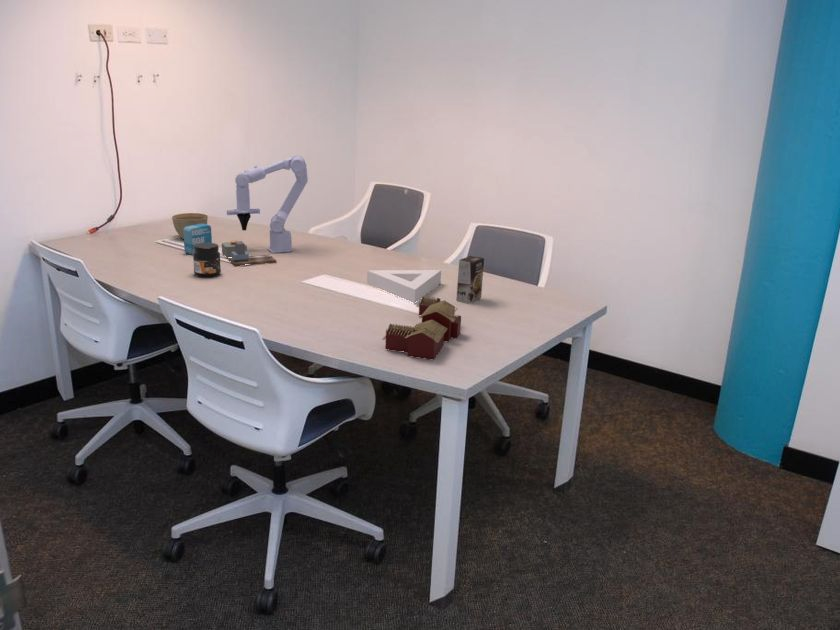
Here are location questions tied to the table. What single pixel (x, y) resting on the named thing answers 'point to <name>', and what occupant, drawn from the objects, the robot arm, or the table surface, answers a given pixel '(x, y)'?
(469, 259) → the coffee box
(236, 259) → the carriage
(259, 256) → the rail
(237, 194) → the robot arm
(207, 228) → the data package
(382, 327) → the table surface
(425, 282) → the triangle block
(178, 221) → the planter bowl
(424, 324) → the toy houses
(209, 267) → the supplement container
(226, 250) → the cabinet
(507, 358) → the table surface
